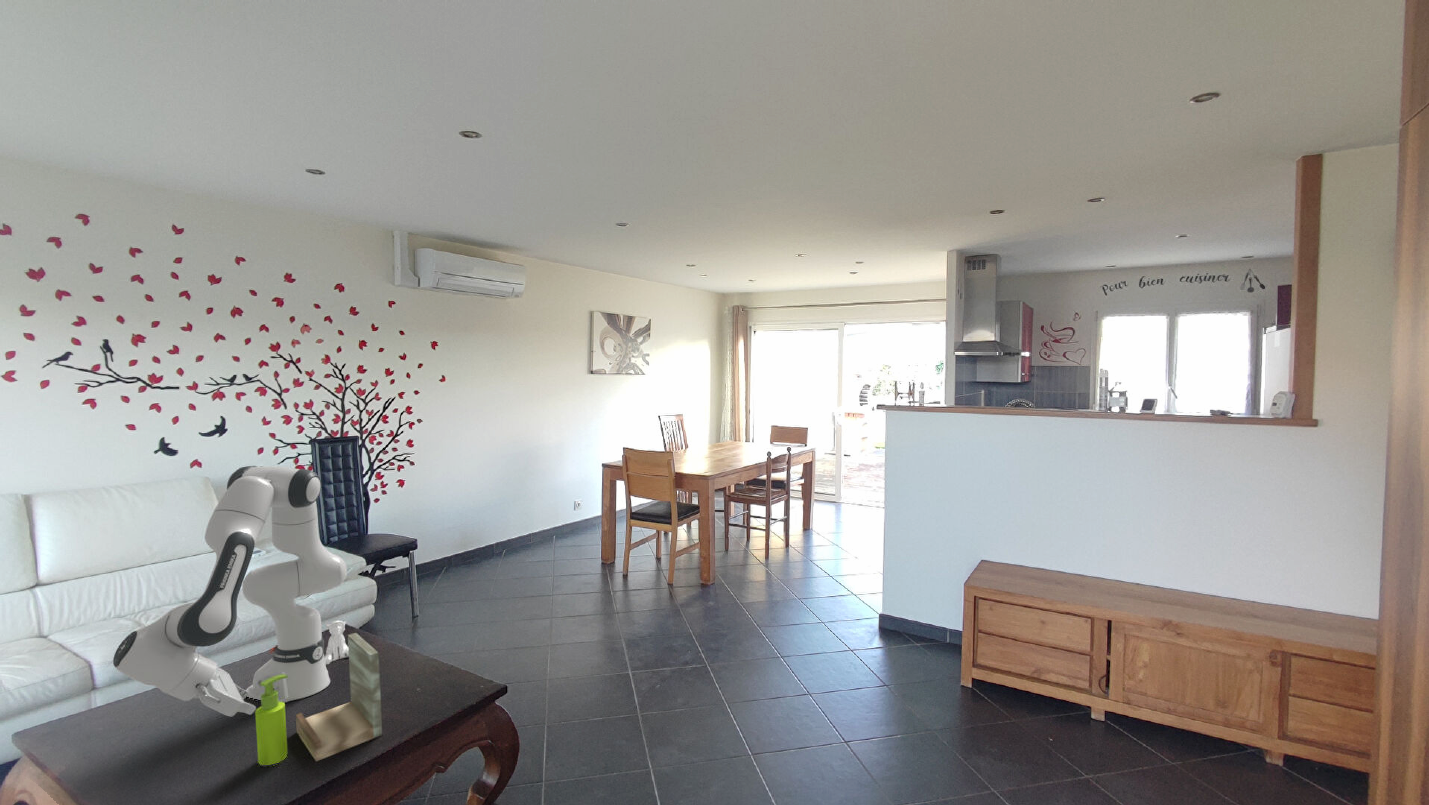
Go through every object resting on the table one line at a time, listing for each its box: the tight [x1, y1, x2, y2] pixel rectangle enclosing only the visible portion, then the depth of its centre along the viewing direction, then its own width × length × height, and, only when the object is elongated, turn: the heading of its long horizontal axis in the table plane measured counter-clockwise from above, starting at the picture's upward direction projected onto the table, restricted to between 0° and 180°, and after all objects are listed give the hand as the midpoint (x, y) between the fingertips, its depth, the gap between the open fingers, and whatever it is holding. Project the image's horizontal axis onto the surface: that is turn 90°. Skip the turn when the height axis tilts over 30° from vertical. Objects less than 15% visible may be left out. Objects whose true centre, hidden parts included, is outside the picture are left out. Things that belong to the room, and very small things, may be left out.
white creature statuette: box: [324, 620, 349, 666], centre depth 207 cm, size 10×9×12 cm
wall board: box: [295, 632, 383, 762], centre depth 163 cm, size 15×18×22 cm
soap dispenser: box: [254, 674, 288, 765], centre depth 153 cm, size 6×7×20 cm
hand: (249, 703), depth 149 cm, fingers open, 8 cm apart
